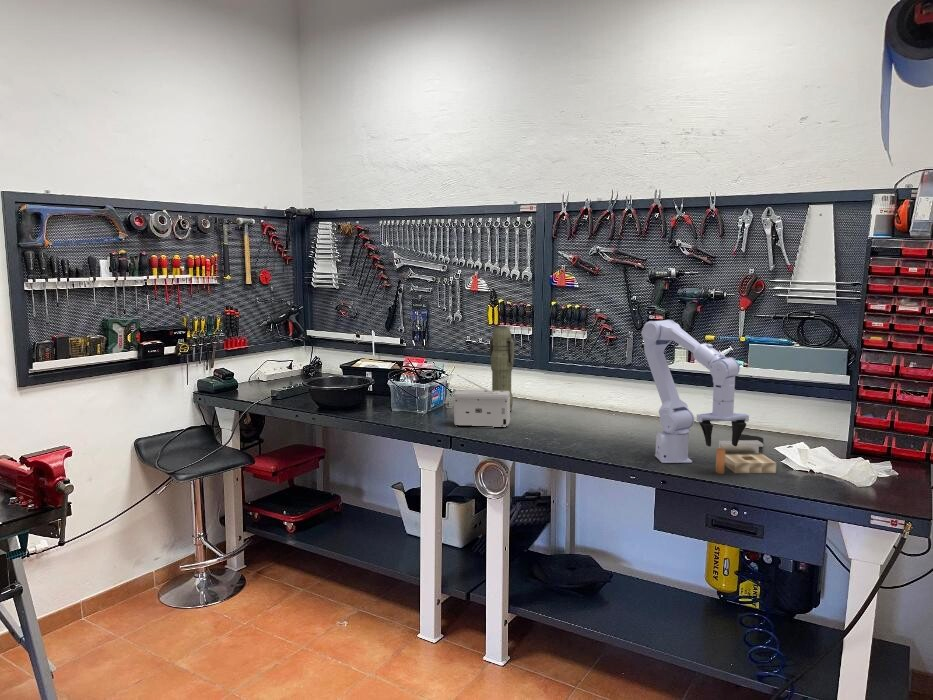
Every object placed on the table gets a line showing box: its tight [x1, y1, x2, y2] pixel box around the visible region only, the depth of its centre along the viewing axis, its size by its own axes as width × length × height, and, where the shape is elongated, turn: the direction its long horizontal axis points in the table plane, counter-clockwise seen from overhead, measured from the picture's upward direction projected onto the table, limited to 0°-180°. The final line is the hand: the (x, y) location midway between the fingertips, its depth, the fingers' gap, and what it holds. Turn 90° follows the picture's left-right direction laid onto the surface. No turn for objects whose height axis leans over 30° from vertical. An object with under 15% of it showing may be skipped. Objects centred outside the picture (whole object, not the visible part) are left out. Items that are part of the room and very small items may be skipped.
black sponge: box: [739, 434, 765, 454], centre depth 225 cm, size 16×8×4 cm, turn 156°
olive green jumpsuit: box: [489, 325, 515, 412], centre depth 281 cm, size 9×12×35 cm
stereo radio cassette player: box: [453, 374, 511, 428], centre depth 257 cm, size 21×8×20 cm, turn 84°
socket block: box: [725, 453, 777, 474], centre depth 206 cm, size 12×10×3 cm
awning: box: [718, 440, 765, 454], centre depth 212 cm, size 12×4×6 cm, turn 91°
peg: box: [715, 447, 726, 475], centre depth 202 cm, size 2×2×7 cm
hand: (721, 445), depth 201 cm, fingers open, 7 cm apart
